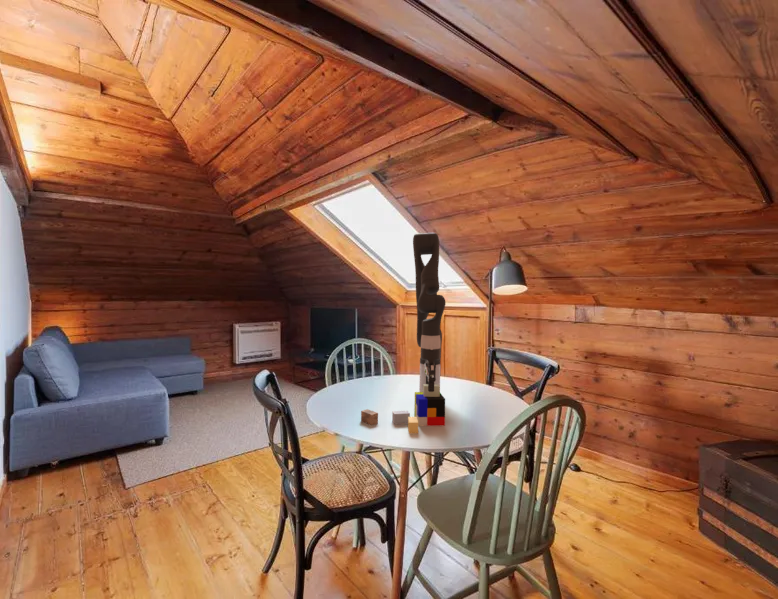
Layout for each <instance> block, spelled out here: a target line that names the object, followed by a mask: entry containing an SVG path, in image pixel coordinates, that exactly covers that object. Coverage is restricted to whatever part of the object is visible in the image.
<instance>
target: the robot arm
mask: <svg viewBox="0 0 778 599" xmlns="http://www.w3.org/2000/svg"><path fill="white" fill-rule="evenodd" d="M412 245H413V246H412V247H413V258H414V259H413V260H414V268H415V297H416V298H415V299H416V317H417V319H416V342H417V346H418V347H419V348H420V357H419V391H418V392H423V384H428V391H429V392H434V384H439V386H440V387H441V360H442V359H441V357H442V344H443V332H442V329H441V322H442V318H443V315H444V311H445V308H446V299H445V297H444V296H443V295H442V294H438V292H439V290H440V280H439V279H440V278H439V264H440V238H439V235H438V233H436V232H422V233H421V232H420V233H419V232H418V233H414V235H413V236H412ZM423 255H424V256H425V255H431V256H430V258H429V260H428V261H427V263H426V265H425V263H424V262H423V258H422V256H423ZM429 314H434V316H433V317H431V318H428V316H429Z"/></svg>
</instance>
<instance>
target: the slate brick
mask: <svg viewBox="0 0 778 599" xmlns="http://www.w3.org/2000/svg"><path fill="white" fill-rule="evenodd" d="M391 414H392V421H391V422H392V423H393V425H403V424H404V425H408V417H411V414H410V412H409V410H397V411H396V410H394V411H392V413H391Z"/></svg>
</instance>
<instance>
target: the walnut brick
mask: <svg viewBox="0 0 778 599" xmlns="http://www.w3.org/2000/svg"><path fill="white" fill-rule="evenodd" d="M360 416H361V417H360V421H361V422H363V423H365V424H368V425H370V426H373V425H377V424H378V423H379V413H378V412H377V411H374V410H371V409H368V408H367V409H363V410H361V412H360Z"/></svg>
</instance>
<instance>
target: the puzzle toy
mask: <svg viewBox="0 0 778 599" xmlns="http://www.w3.org/2000/svg"><path fill="white" fill-rule="evenodd" d="M413 411H414V414H413V415H414V416H413V417H417V420H418V427H419V426H421V427H422V426H424V427H425V426H426V427H427V426H429V427H430V426H446V425H445V423H446V398H445V397H444V396H443V394H442V393H441V392H440V397H424V396H423V392H419V391H415V392H414V409H413Z"/></svg>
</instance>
